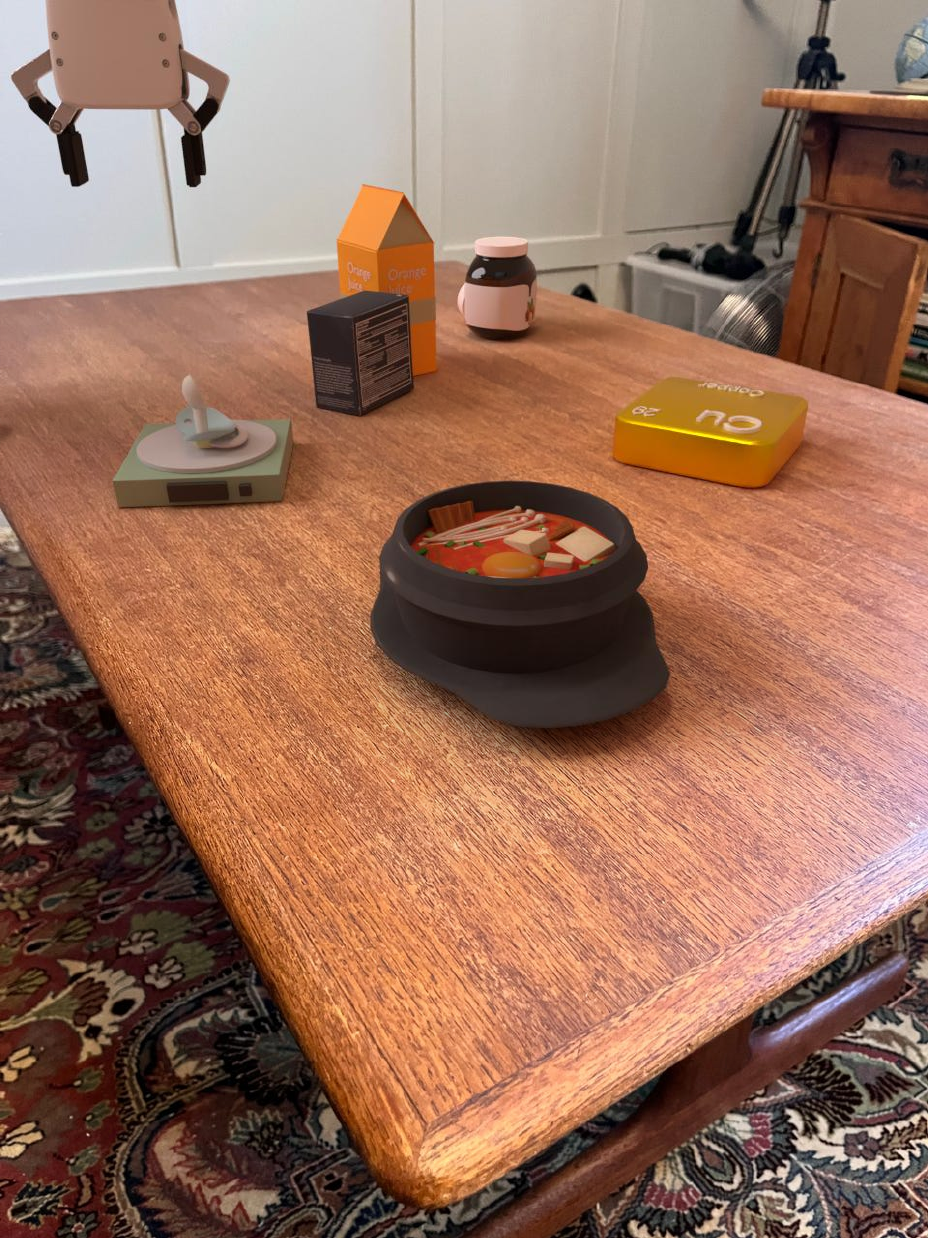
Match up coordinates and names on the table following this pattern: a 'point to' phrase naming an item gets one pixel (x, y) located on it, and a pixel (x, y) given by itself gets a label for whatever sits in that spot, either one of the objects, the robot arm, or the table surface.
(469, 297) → the spread jar
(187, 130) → the robot arm
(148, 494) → the scale
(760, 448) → the element tile
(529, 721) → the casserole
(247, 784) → the table surface
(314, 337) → the small box
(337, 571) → the table surface
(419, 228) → the orange juice
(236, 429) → the pacifier
